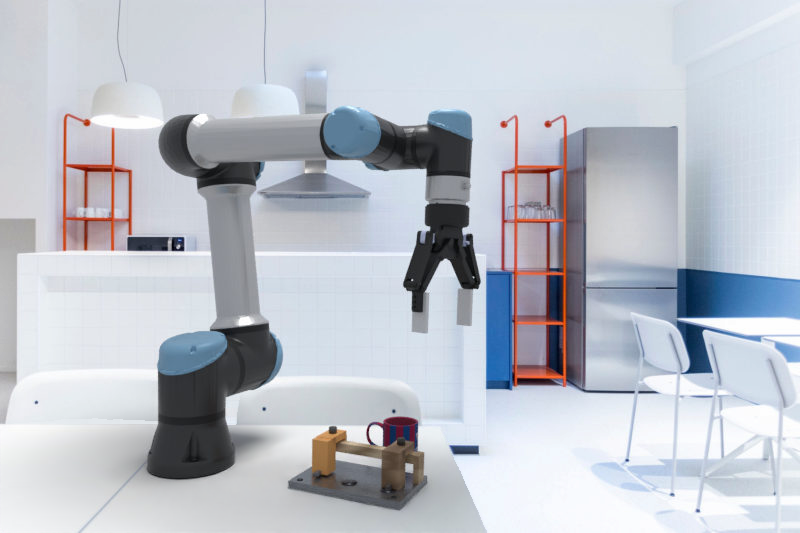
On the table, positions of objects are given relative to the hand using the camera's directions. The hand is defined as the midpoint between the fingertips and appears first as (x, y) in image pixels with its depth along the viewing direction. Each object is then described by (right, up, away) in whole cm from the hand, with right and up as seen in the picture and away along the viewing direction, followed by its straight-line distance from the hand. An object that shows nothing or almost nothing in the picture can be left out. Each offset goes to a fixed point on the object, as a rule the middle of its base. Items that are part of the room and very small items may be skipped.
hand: (443, 328), depth 103 cm
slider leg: (-20, -24, +2) cm, 31 cm away
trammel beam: (-14, -25, -1) cm, 28 cm away
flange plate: (-14, -26, -2) cm, 30 cm away
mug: (-9, -26, +13) cm, 31 cm away
